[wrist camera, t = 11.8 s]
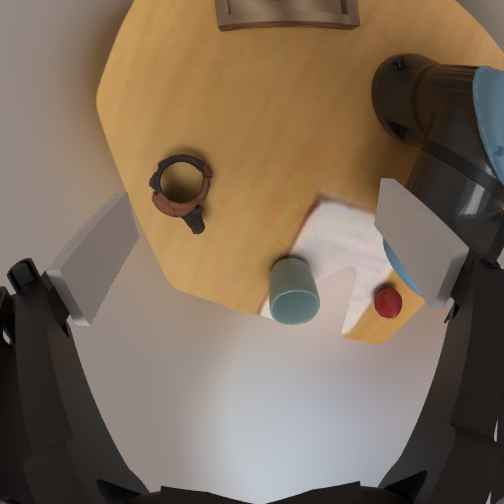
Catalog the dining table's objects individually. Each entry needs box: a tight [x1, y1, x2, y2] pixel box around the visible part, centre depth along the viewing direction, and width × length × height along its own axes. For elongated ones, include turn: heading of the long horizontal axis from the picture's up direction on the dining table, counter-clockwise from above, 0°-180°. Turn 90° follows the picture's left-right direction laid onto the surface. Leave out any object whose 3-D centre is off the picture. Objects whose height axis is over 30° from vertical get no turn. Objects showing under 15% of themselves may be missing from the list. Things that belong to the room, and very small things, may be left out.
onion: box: [375, 289, 402, 319], centre depth 49 cm, size 6×6×8 cm
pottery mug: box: [149, 154, 212, 234], centre depth 39 cm, size 12×10×8 cm
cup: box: [269, 258, 320, 325], centre depth 45 cm, size 8×8×10 cm
